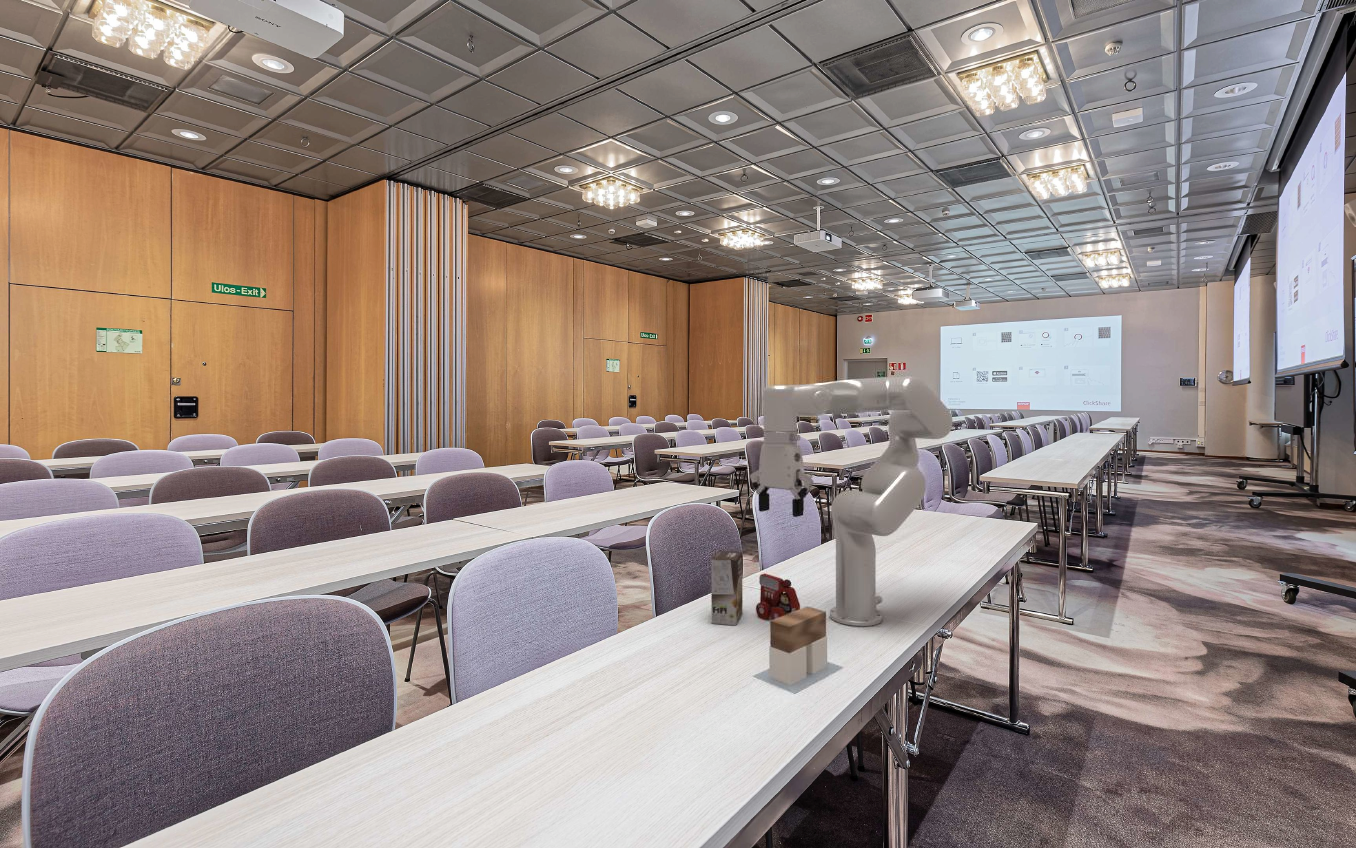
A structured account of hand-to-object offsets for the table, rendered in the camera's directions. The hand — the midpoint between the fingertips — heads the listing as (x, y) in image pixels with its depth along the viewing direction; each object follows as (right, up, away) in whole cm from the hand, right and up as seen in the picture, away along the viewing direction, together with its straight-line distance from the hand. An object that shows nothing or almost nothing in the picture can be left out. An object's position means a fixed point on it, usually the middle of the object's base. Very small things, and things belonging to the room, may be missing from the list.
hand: (780, 513), depth 142 cm
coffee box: (-11, -28, +12) cm, 33 cm away
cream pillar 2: (+3, -28, -19) cm, 34 cm away
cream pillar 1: (-3, -28, -23) cm, 37 cm away
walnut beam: (0, -22, -21) cm, 31 cm away
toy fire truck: (+1, -28, +12) cm, 31 cm away
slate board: (0, -29, -21) cm, 36 cm away
